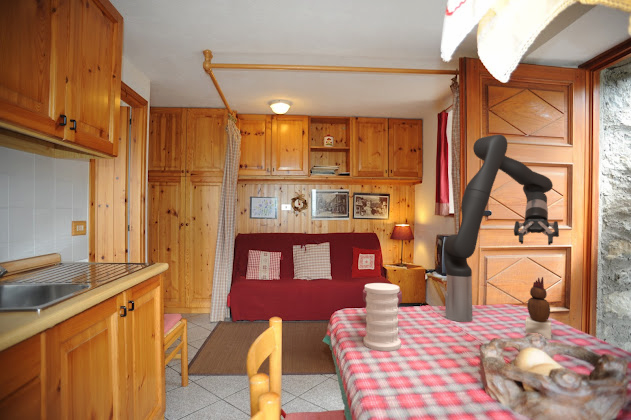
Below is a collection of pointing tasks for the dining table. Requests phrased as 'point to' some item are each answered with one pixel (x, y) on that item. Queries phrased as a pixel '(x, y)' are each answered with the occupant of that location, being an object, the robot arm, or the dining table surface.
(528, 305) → the wooden figurine
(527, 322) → the limewashed block
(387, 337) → the decorative container
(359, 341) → the dining table surface
